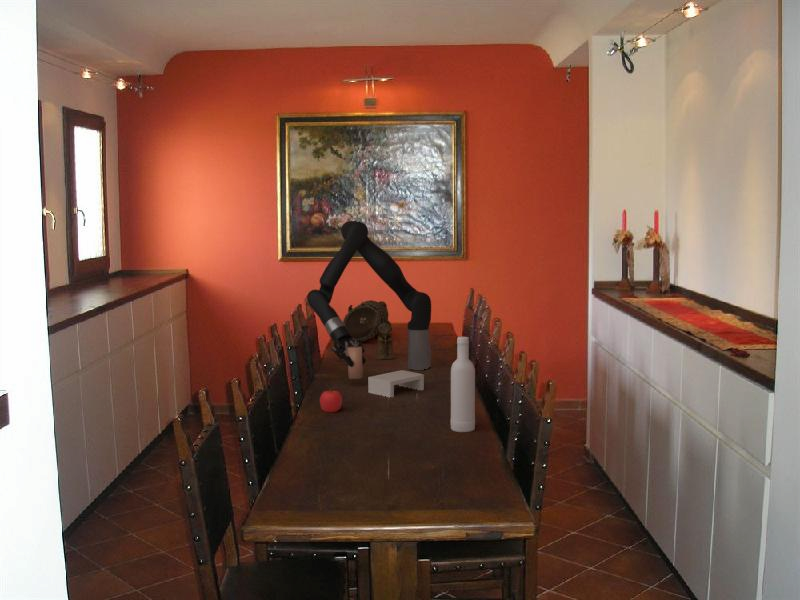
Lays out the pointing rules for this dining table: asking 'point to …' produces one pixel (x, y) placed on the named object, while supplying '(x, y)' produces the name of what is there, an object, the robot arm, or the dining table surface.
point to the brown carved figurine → (385, 342)
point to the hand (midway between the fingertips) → (358, 364)
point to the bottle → (462, 389)
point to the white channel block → (394, 382)
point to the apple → (330, 401)
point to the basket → (366, 320)
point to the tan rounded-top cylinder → (355, 362)
